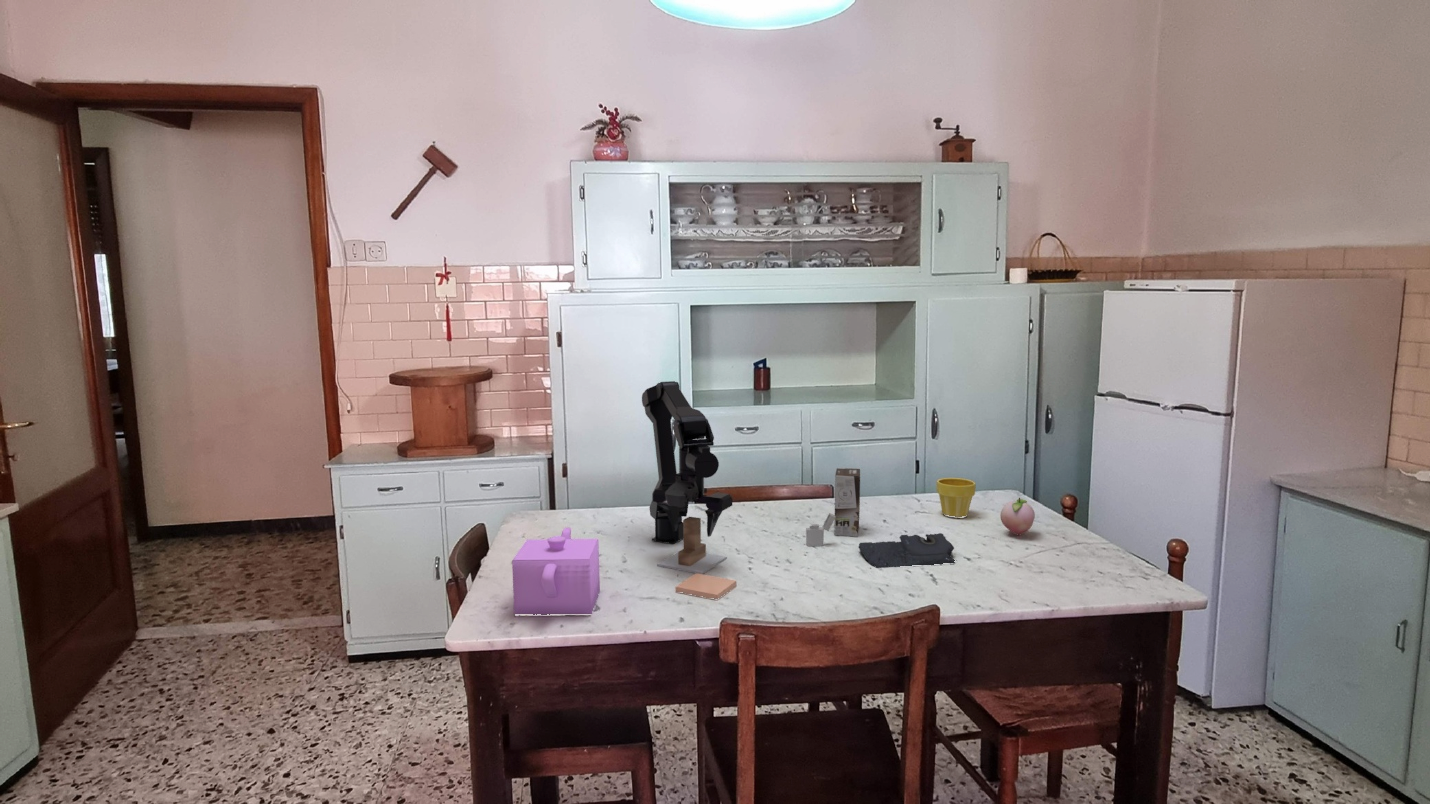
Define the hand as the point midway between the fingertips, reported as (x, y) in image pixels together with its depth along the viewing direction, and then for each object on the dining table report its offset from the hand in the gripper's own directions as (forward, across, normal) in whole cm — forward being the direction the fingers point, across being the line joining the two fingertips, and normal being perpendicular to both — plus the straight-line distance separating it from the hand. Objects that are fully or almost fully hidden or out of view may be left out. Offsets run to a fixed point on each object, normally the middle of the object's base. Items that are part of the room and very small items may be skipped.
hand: (692, 533), depth 188 cm
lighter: (+7, +22, +26) cm, 35 cm away
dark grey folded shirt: (+8, +43, +28) cm, 52 cm away
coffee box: (+7, +24, +40) cm, 47 cm away
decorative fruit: (+7, +64, +57) cm, 86 cm away
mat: (+7, 0, 0) cm, 7 cm away
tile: (+6, +11, -9) cm, 16 cm away
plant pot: (+7, +46, +68) cm, 82 cm away
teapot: (+7, -12, -33) cm, 36 cm away
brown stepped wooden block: (+6, 0, 0) cm, 6 cm away
